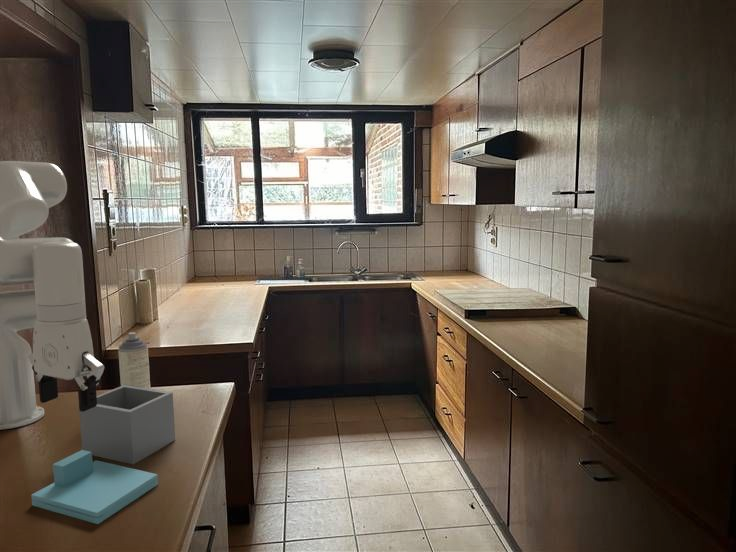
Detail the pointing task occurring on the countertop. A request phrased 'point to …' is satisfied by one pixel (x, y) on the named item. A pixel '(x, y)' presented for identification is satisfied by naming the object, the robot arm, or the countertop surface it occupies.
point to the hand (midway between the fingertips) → (68, 404)
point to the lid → (92, 488)
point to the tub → (128, 424)
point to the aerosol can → (134, 362)
